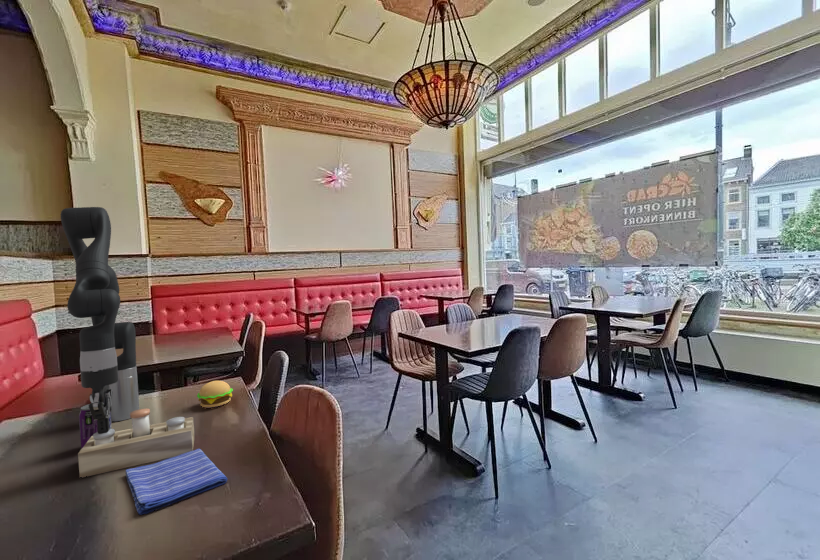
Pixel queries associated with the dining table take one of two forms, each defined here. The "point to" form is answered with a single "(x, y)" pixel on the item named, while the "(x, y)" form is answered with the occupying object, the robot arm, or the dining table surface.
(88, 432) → the beverage can
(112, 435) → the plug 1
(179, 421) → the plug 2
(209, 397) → the hamburger
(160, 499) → the dish towel
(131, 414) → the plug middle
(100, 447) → the beech block
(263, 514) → the dining table surface
